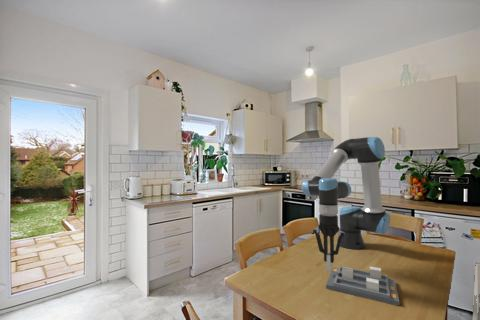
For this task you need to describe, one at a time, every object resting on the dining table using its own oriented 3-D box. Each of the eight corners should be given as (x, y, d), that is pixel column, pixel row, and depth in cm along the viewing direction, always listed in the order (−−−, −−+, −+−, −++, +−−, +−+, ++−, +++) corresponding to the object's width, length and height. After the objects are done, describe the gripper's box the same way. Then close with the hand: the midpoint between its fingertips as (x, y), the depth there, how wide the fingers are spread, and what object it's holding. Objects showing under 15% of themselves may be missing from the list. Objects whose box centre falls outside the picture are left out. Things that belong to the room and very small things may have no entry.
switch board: (333, 270, 109) (332, 264, 109) (395, 283, 97) (395, 276, 97) (326, 288, 93) (326, 281, 93) (399, 306, 81) (399, 298, 81)
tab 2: (370, 275, 100) (369, 266, 100) (381, 278, 98) (380, 268, 98) (369, 278, 98) (369, 269, 98) (381, 281, 96) (381, 271, 96)
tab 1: (342, 276, 100) (342, 266, 100) (353, 278, 98) (353, 268, 98) (342, 279, 97) (341, 269, 97) (352, 281, 95) (352, 271, 95)
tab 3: (366, 288, 90) (366, 277, 90) (378, 290, 88) (378, 279, 88) (366, 291, 88) (366, 280, 88) (378, 294, 86) (378, 283, 86)
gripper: (311, 214, 102) (311, 269, 101) (343, 217, 95) (344, 276, 95) (314, 211, 108) (315, 263, 108) (345, 214, 102) (346, 269, 101)
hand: (329, 269), depth 101 cm, fingers closed
